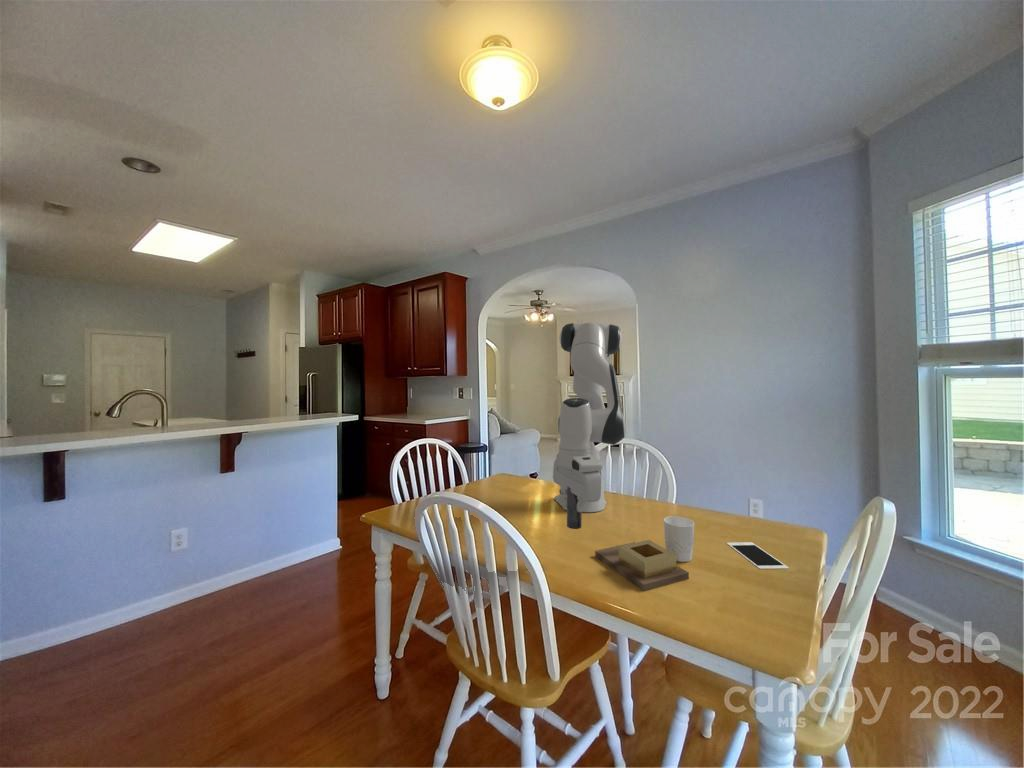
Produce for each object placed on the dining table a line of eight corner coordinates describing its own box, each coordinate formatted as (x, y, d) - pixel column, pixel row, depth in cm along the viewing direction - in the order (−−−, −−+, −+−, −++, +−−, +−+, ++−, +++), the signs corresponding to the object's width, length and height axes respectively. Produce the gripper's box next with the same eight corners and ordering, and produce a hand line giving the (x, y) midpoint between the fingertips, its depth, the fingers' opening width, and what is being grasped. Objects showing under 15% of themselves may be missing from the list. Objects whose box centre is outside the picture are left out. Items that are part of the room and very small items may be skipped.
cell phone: (752, 544, 118) (752, 542, 118) (789, 570, 102) (789, 567, 102) (726, 544, 118) (726, 542, 118) (759, 570, 102) (759, 568, 102)
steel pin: (564, 524, 110) (564, 485, 109) (576, 522, 111) (577, 483, 111) (571, 529, 106) (571, 489, 106) (584, 527, 107) (584, 488, 107)
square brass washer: (618, 561, 105) (618, 546, 105) (648, 554, 108) (648, 539, 108) (644, 578, 95) (644, 562, 95) (676, 570, 99) (676, 554, 99)
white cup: (676, 565, 105) (676, 528, 105) (658, 552, 113) (657, 517, 113) (701, 561, 107) (700, 524, 107) (681, 549, 115) (681, 514, 115)
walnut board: (595, 555, 111) (595, 550, 111) (635, 547, 117) (634, 542, 117) (644, 590, 93) (643, 584, 93) (688, 578, 98) (688, 572, 98)
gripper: (547, 451, 116) (547, 497, 117) (584, 467, 97) (583, 522, 98) (566, 449, 119) (566, 495, 119) (606, 465, 100) (605, 519, 100)
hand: (574, 507), depth 108 cm, fingers closed on steel pin, 4 cm apart
